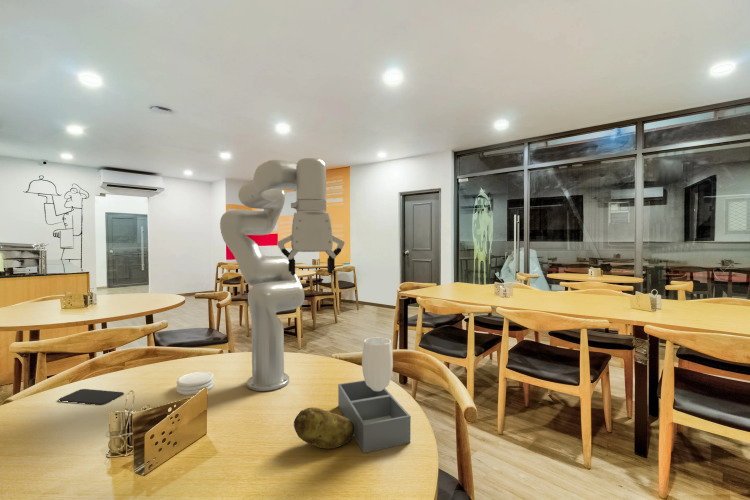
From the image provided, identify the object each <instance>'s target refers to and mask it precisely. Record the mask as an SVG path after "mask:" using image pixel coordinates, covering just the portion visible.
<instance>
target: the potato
mask: <svg viewBox="0 0 750 500" xmlns="http://www.w3.org/2000/svg"><path fill="white" fill-rule="evenodd" d="M293 428H294V431H295V433H296V434H297V436H298V438H299V439H300V440H302V441H303V442H305V443H306V444H310V445H315V446H317V447H318V448H321V449H326V450H327V449H335V448H338V447H341V446H343V445H345V444H346V443H348V442H349V441H350V440H351V439H352V438H353V437H354V424H353V423H352V421H351V420H349V419H348V418H346V417H344V415H343V416H342V415H341V414H336V413H334V412H330V411H328V410H325V409H324V408H320V407H307V408H304V409H302V410H300V411H299V413H298V414H297V415H296V416H295V418H294V421H293Z"/></svg>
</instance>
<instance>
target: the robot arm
mask: <svg viewBox="0 0 750 500" xmlns="http://www.w3.org/2000/svg"><path fill="white" fill-rule="evenodd" d="M285 191H293V192H296V201H295V202H291V203H290V209H294V210H295V211H296V212H294V213H293V218H292V224H291V225H292V226H291V234H290V235H289V236H287V237H284V238H282V239H279V240H278V241H277V242H276V244H277V246H278V248H279V250H280V253H282V254H283V255H284V256H285V257H284V256H282V255H270V256H269V255H265V254H263V252H262V250H261V248H260V246H259V245H258V243H256V241H255V240H253V239H252V238H250V237H249V236H264V235H265V236H266V235H270V234H271V233H272V232H273V231H274V229H275V227H276V225H277V222H278V221H279V217H280V215H281V213H282V211H283V208H284V205H285V202H286V195H285V194H286V193H285ZM237 196H238V200H239V202H240V203H241V204H243V206H245V207H247V208H251V209H257V210H250V209H247V210H246V209H233V210H227V211H226V212H224V213H222V216H220V221H219V228H220V234H221V237H222V239H223V241H224V243H225V245H226V247H228V249H229V250H230V252H231V253H232V254H233V256H234V259H235V261H236V264H237V265H238V268H239V271H240V274H241V275H242V277H243V280H244V282H245V283H246V284H247V285H249V286H251V288H250V289H249V290H248V293H247V303H248V308H249V312H250V323H251V369H252V370H251V374H252V375H251V377H250V378H248V379H247V382H246V386H247V388H249V389H250V390H252V391H255V392H256V391H257V392H267V391H268V392H269V391H275V390H278V389H280V388H283V387H285V386H287V385H288V383H290V376H289V374H287V373H286V372H285V355H284V354H285V351H284V350H285V349H284V347H285V343H284V341H285V339H284V334H285V333H284V324H283V322H282V321H281V319H280V318H279V316H278V315H277V313H280V312H284V311H285V312H286V311H290V310H296V309H298V308H300V307H301V306H302V305H303V304H304V301H305V290H304V288H303V285H302V283H301V281H300V279H299V277H298V275H297V273H296V260H295V256H296V255H297V254H298V253H299V252H301V253H318V252H319V253H320V252H321V253H323V252H324V253H326V254H327V256H328V257H327V267H326V268H327V269H326V270H327V273H328V274H330V275H333V271H335V267H336V266H335V260H336V258H337V257H338V255H340V253H341V252H342V250H343V249H344V245H345V241H344V240H341V239H339V238H338V237H336V236H334V235H333V229H332V228H333V227H332V221H331V220H332V219H331V215H330V213H328V212H327V164H326V163H325V161H324V160H322V159H319V158H313V157H306V158H301V159H299V160H298V161H297V162H293V161H287V160H280V159H270V160H267V161H264V162H263V163H261V164H259V165H258V166H257V168H256V169H255V171H254V174H253V179H252V180H250V181H248V182H246V183H245V184H243V185H242V186H241V187H240V188H239V191H238V195H237ZM258 209H261V210H258ZM262 209H263V210H262ZM289 242H291V248H292V249H291V250H289V251H288V249H286V247H285V245H286V244H287V243H289ZM333 243H335V244H337V246H336V248H335V249H334V250H333V245H334V244H333Z"/></svg>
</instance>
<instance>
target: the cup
mask: <svg viewBox="0 0 750 500" xmlns="http://www.w3.org/2000/svg"><path fill="white" fill-rule="evenodd" d="M362 346H363V347H362V353H361V354H362V356H361V369H362V373H363V380H365V382H366V385H367V386H368V387H370V388H371V389H372V390H373V391H382V390H383V389H384V388H385V389H386V388H388V386H390V382H391V380H392V375H393V368H394V360H393V359H394V358H393V357H394V356H393V355H394V354H393V347H392V341H391V339H390V338H387V337H381V336H374V337H373V336H372V337H368V338H366V339H364V342H363V345H362Z"/></svg>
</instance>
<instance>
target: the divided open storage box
mask: <svg viewBox="0 0 750 500" xmlns="http://www.w3.org/2000/svg"><path fill="white" fill-rule="evenodd" d="M337 388H338V390H337V392H338V393H337V396H338V399H337V400H338V409H339V410H340V411H341V413H342V415H343V417H346V418H348V419H349V420H351V421H352V423H353V424H354V435H353V437H354V438H355V440H356V442H357V444H358V446H359V447H360V449H361V450H362V453H364V454H366V453H370V452H374V451H379V450H383V449H388V448H392V447H393V448H394V447H396V446H400V445H405V444H406V445H407V444H410V443H411V419H412V418H411V415H410V413H408V412H407V411H406V410H405V408H404V407H403V406H402V405H401V404H400V403H399V402H398V401H397V400H396V398H395V397H394V396H393V395H392V394H391V393H390V392H389V391H388V389H386V387H385V388H384V389H383V390H382V391H373V390H372V389H371V388H370V387H368V386H367V385H366V382H365V379H363V380H357V381H352V382H351V381H350V382H344V383H338V387H337Z"/></svg>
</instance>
